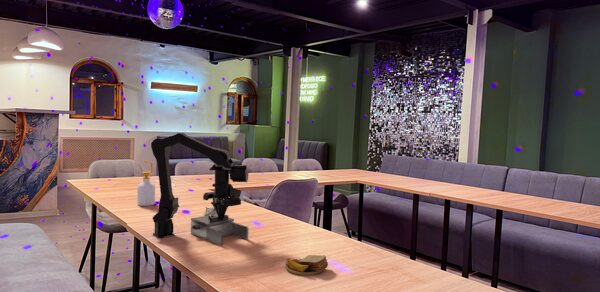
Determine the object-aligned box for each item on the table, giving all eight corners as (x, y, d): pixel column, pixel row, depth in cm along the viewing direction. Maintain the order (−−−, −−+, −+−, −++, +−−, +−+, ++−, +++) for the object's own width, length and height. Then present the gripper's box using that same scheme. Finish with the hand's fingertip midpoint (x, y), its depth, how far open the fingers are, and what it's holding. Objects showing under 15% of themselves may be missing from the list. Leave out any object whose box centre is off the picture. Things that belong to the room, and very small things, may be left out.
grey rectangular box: (216, 246, 156) (216, 233, 156) (186, 234, 172) (186, 222, 171) (252, 238, 168) (252, 225, 168) (221, 227, 184) (221, 216, 183)
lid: (206, 226, 164) (206, 219, 164) (191, 220, 173) (191, 214, 173) (233, 221, 173) (234, 214, 173) (217, 216, 182) (217, 209, 182)
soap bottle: (136, 203, 231) (136, 159, 229) (154, 202, 235) (154, 158, 233) (138, 206, 223) (138, 160, 221) (155, 205, 227) (156, 160, 225)
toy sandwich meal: (301, 260, 144) (301, 247, 144) (333, 269, 136) (334, 255, 136) (277, 270, 134) (277, 255, 134) (310, 280, 126) (311, 265, 126)
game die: (207, 232, 189) (194, 215, 188) (218, 222, 196) (206, 205, 195) (218, 226, 184) (205, 208, 183) (229, 215, 191) (216, 198, 190)
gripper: (252, 182, 166) (251, 221, 167) (225, 177, 180) (224, 213, 181) (229, 185, 159) (228, 225, 160) (202, 179, 172) (202, 216, 173)
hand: (221, 219), depth 168 cm, fingers closed
